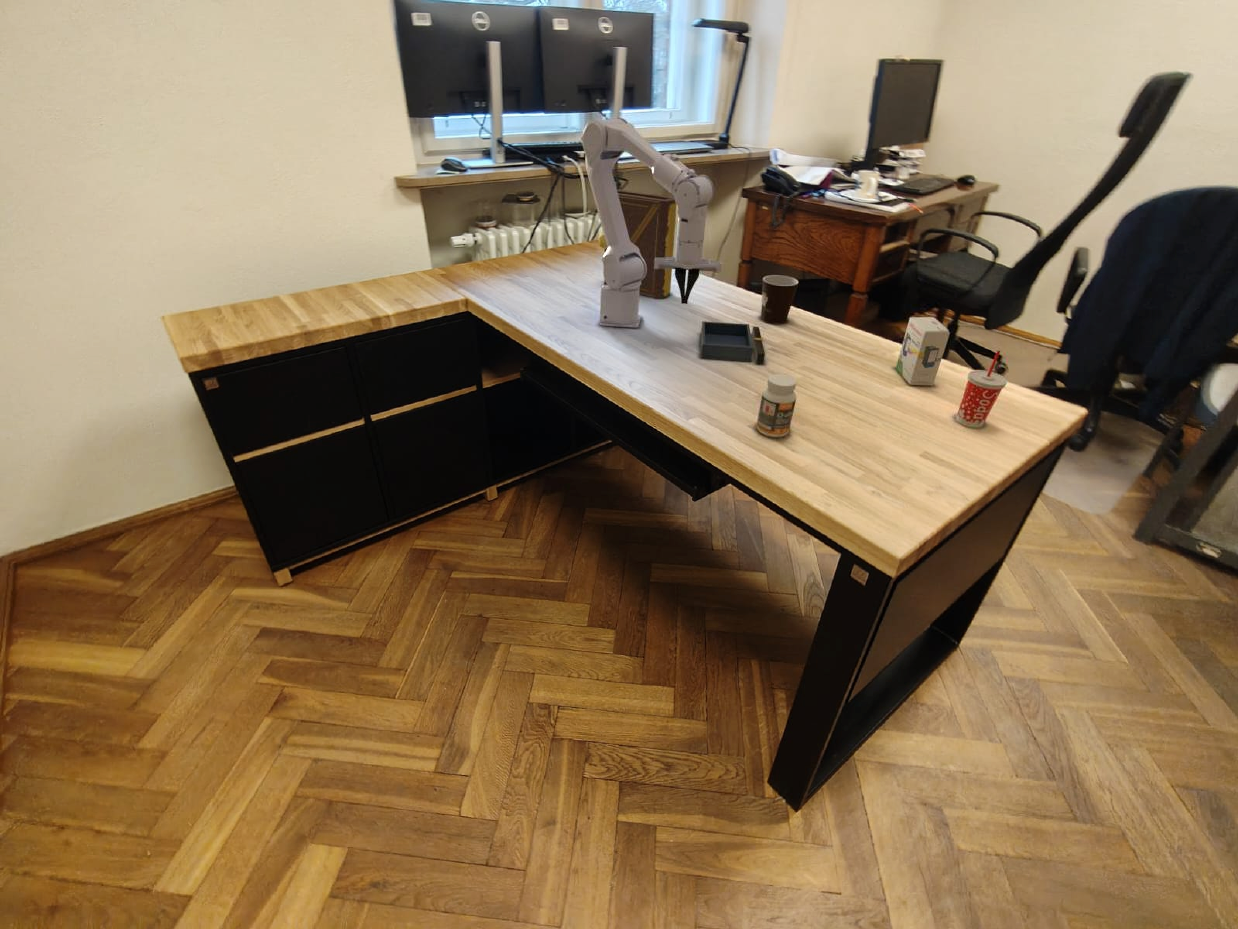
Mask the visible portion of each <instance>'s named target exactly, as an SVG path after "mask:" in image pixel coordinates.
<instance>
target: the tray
mask: <svg viewBox="0 0 1238 929" xmlns="http://www.w3.org/2000/svg"><path fill="white" fill-rule="evenodd" d="M751 334H752V332H751V328H750V323H735V322H733V323H732V322H721V321H701V328H700V359H706V360H707V359H708V360H720V361H721V360H722V361H733V362H734V361H737V362H749V363H750V362H752V358H753V353H754V349H753V343H752V338H751Z"/></svg>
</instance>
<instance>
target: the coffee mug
mask: <svg viewBox="0 0 1238 929" xmlns="http://www.w3.org/2000/svg"><path fill="white" fill-rule="evenodd" d="M798 285H799V280H798V279H796V278H794V277H791V276H788V275H779V274H771V275H766V276H764V277H763V278H762V290H761V310H760V320H761V321H762V322H764V323H768V324H773V325H782V324H785V323H786V322H787V321H788V316H789V314H790V311H791V307H792V305H793V301H794V298H795V294H796V292H797V288H798Z"/></svg>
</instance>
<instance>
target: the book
mask: <svg viewBox="0 0 1238 929" xmlns="http://www.w3.org/2000/svg"><path fill="white" fill-rule="evenodd" d="M616 189H617V188H616ZM617 193H618V197H619V200H620V204H621V208H622V212H623V216H624V220H625V224H626V227H627V231H628V235H629V239H630V242H632V243H633V244H634V245H636V246H637V247H638V248H639V251H640V254H641V256H642V258H643V259H644V261H645V263H646V266H647V273H646V276H645V277H644V279H642V280H641V285H640V289H639V296H644V297H648V298H653V299H659V300H661V299H662V300H663V299H666V298H668V297H669V296H671V289H672V272H673V269H665V268H659V269H654V260H655V257H656V258H668V257H674V246H675V231H676V216H677V204H676V202H675V198H674V196H670V195H661V194H654V193H646V192H641V191H640V192H639V191H633V190H632V191H631V190H625V189H617ZM598 245H599V247H600V248H602V249H604V250H603V251H604V253H603V255H604V254H605V252H606V251H607V248H608V247H607V244H606V240H605V236H604V233H603V232H601V233H600V234H599V236H598ZM622 258H624V257H622V256H621V257H620V258H619V259H622ZM603 285H607V283H606V281H605V279H604V278H603Z"/></svg>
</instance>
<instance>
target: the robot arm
mask: <svg viewBox="0 0 1238 929" xmlns="http://www.w3.org/2000/svg"><path fill="white" fill-rule="evenodd" d="M580 140H581V144H582V148H583V151H584V155H585V169H586V173H587V177H588V182H589V185H590V188H591V192H592V196H593V200H594V203H595V207H596V212H597V215H598V218H599V222H600V225H601V228H602V233H604V236H605V240H606V244H607V247H608V248H607V251H606V252H605V254H604V253H603V256H602V258H601V261H602V264H603V265H602V266H603V270H602V271H603V272H602V273H603V275H602V276H603V280H604V279H605V281H606V283H607V285H604V284H602V286H601V289H600V306H599V307H600V311H599V315H600V316H599V317H600V320H599V322H600V323H599V325H600V326H602V327H603V326H604V327H620V328H634V329H638V328H639V326H640V322H641V319H642V315H641V314H639V311H640V295H639V289H640V285H641V280H642V279H644V277H645V276H646V273H647V266H646V263H645V261H644V259H643V258H642V256H641V254H640V251H639V248H638V247H637V246H636V245H634V244H633V243H632V242H630V239H629V235H628V231H627V227H626V224H625V220H624V216H623V212H622V208H621V204H620V200H619V197H618V193H617V185H616V181H615V178H614V174H613V169H614V167H615V164H616V163H617V161H618V160H619V159H620V158H621V157H622V155H623V154H624V153H625V152H626V153H627V154H629V155H631V157H633V158H635V159H636V160H637V161H639V163H642V164H643V165H644V166H645V167H647V168H649V170H651V172H652V178H653V180H654V181H655V182H657V183H658V184H659V185H660V186H661V187H663V188H664V189H665V190H666V191H667V192H669V194H671V195H672V196H673V197H674V198H675V202H676V204H677V205H676V207H677V215H678V217H677V232H676V243H675V254H674V256H673V257H668V258H656V257H655V260H654V269H659V268H665V269H672V270H674V277H675V280H676V282H677V285H678V289H679V294H680V304H683V305H687V304H688V303H689V302H688V301H689V298H690V295H691V293H692V290H693V288H694V286H695V284H696V282H697V281H698V279H699V278H700V272H713V273H716V274H717V273H718V274H722V266H723V265H722V264H723V262H722V261H718V260H711V259H706V258H703V249H704V241H705V240H704V239H705V230H706V222H707V213H708V205H709V204H710V203H712V201H713V199H714V196H715V186H714V184H713V181H712V180H711V179H710V177H709V176H708V175H706V174H700V175H698V174H696V171H695V170H694V169H693V168H689V167H687V166H686V165H685V164H684V163H683V162H681V161H680V160H679V159H680V156H678V155H677V154H676V153H674V154H671V153H666V154H661V152H660V151H659V150H657V149H656V148H655V147H654V146H653V145H652V144H651V143H650V142H649V141H648V140H647V139H645V137H643V136H642V135H641V133H639V132H638V131H637V130H636V128H635V125H634V124H632V123H630V122H629V121H628V120H627V119H625V118H624V117H618V118H617V117H616V118H610V119H609V118H608V119H591V120H589V121H588V122H586V124H585V126H584V129H583V131H582V133H581V137H580ZM621 256H622V257H624V258H622V259H619V258H620V257H621Z"/></svg>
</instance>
